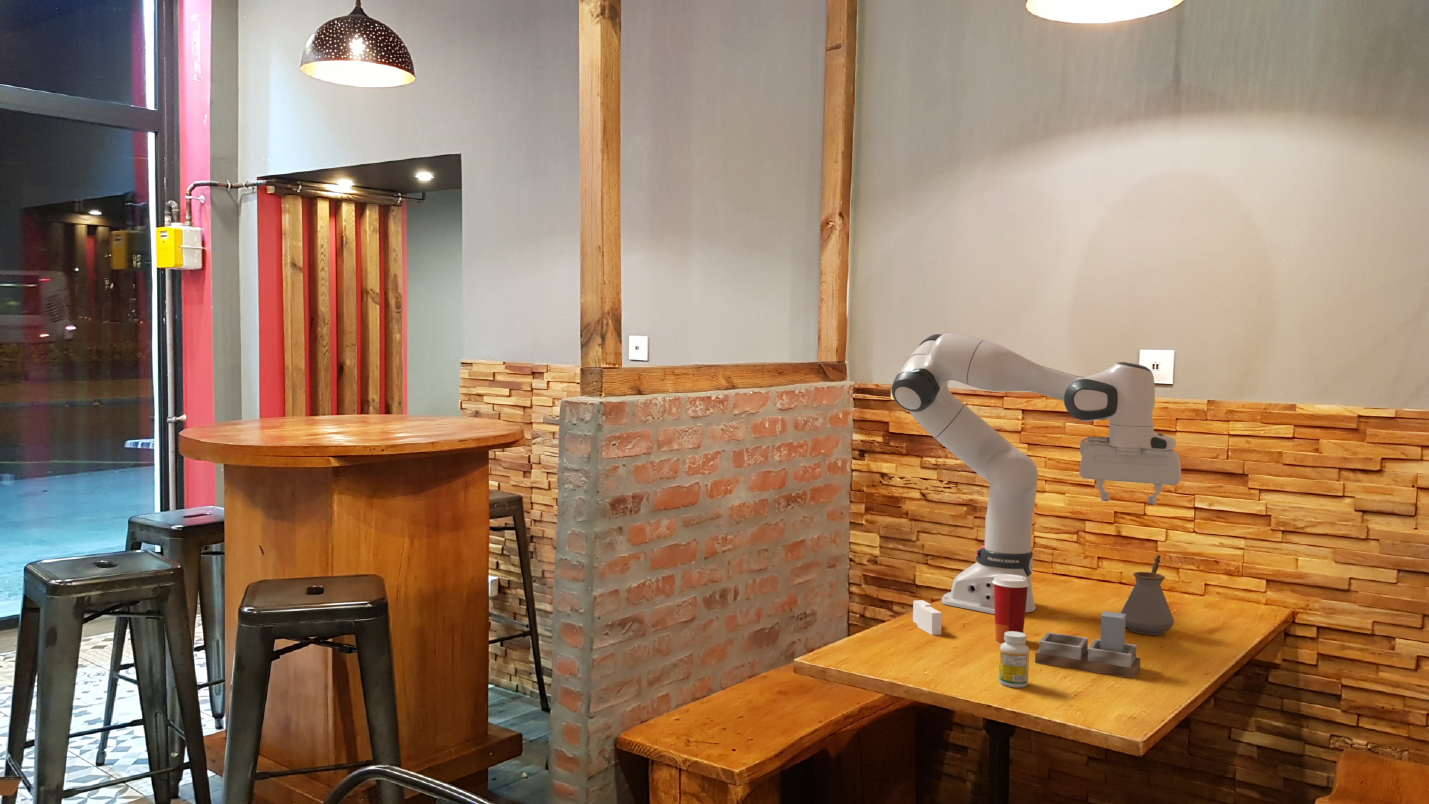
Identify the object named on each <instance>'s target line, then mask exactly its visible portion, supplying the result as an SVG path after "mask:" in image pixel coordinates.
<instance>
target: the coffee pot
mask: <svg viewBox="0 0 1429 804" xmlns="http://www.w3.org/2000/svg"><path fill="white" fill-rule="evenodd" d="M1161 558H1162V559H1163V560H1162V561H1161ZM1153 560H1154V563H1153V564H1152V569H1151V572H1148V571H1137V572H1134V573H1132V574H1133V576H1134V578H1135V584H1134V587H1132V591H1131V592H1130V594H1129V596H1128V598H1127V600H1126V602H1125V603H1124V606H1123V608H1122V610H1121V611H1120V613H1121V614H1126V621H1125V627H1127V628H1128V630H1129V631H1130V632H1133V633H1137V634H1142V635H1147V636H1148V635H1150V636H1158V635H1164V634H1165V632H1167V631H1168V630H1170V629H1171V628H1172V627H1173V625H1174V624H1175V619H1174V617H1173V614H1172V612H1171V609H1170V606H1169V604H1168V601H1167V599H1166V596H1165V593H1164V591H1163V589H1162V586H1161V584H1162V583H1163V581H1164V580H1165V579H1166V576H1164V575H1163V574H1161V573H1157V572H1158V569H1159V567H1160V565H1159V564H1160V563H1164V561H1165V558H1164V557H1163V556H1161V555H1160V554H1157V555H1156V556H1154V557H1153Z"/></svg>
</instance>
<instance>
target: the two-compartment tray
mask: <svg viewBox="0 0 1429 804" xmlns="http://www.w3.org/2000/svg"><path fill="white" fill-rule="evenodd" d="M1100 640H1101V639H1098V638H1095V639H1094V640H1093V641H1092V643H1091V644H1090V645H1089V638H1088V637H1083V636H1077V635H1076V636H1075V635H1069V634H1063V633H1062V634H1061V633H1056V632H1047V633H1046V634H1045V635H1044V636H1043V637H1042V639H1040V640H1039V647H1038V649H1037V650H1036V651H1035V654H1034V663H1036V664H1040V665H1041V664H1042V665H1049V666H1053V667H1060V668H1068V669H1072V670H1078V671H1080V670H1081V671H1086V672H1091V673H1092V672H1093V673H1096V674H1097V673H1099V674H1102V675H1103V674H1105V675H1110V676H1116V677H1123V678H1129V679H1136V676H1137V674H1138V673H1139V671H1140V670H1141V658H1142V657H1141V658H1140V657H1138V656H1137V654H1138V653H1137V647H1138V645H1137V644H1131V643H1125V645H1124V653H1120V652H1113V651H1107V650H1100Z"/></svg>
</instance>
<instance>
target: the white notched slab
mask: <svg viewBox="0 0 1429 804" xmlns="http://www.w3.org/2000/svg"><path fill="white" fill-rule="evenodd" d="M942 616H943V614H942V612H941V611H939V610H937V609H935V608H934V607H933V604H930V603H929V602H927V601H925V600H923V599H921V600H918V599H917V600H916V599H915V600H913V606H912V622H914V623H915V624H916V626H917V628H919V629H921V630H922V631H924V632H926V634H927V633H928V634H929V635H930V636H938V635H942V624H943V623H942V618H943V617H942Z"/></svg>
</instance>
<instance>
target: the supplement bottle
mask: <svg viewBox="0 0 1429 804" xmlns="http://www.w3.org/2000/svg"><path fill="white" fill-rule="evenodd" d="M1004 640H1005V641H1006V642H1005V643H1001V645H1000V647H999V648H1000V649H999V676H998V681H999V684H1001V685H1002V686H1005V687H1008V688H1013V689H1014V688H1015V689H1016V688H1017V689H1018V688H1019V689H1020V688H1025V687H1027V686H1028V684H1029V668H1030V667H1029V664H1030V648H1029V646H1028V645H1027V644H1025V643H1027V635H1026V634H1025V632H1023V633H1021V632H1014V631H1009V632H1005V634H1004Z"/></svg>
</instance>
